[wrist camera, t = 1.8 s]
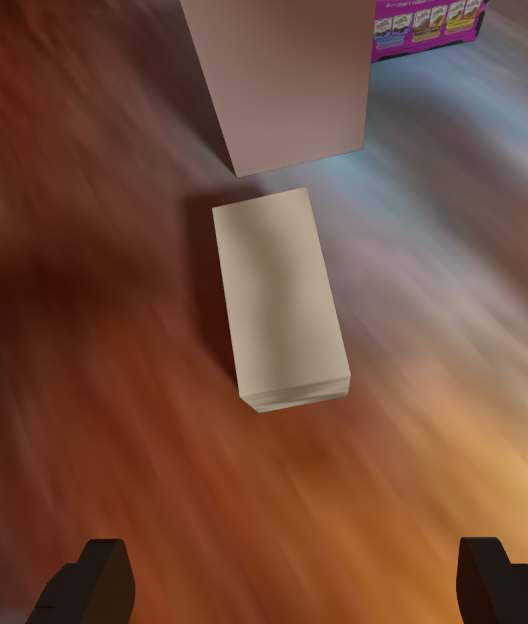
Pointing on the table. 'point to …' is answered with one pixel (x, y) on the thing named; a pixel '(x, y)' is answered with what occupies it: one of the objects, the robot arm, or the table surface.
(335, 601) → the table surface
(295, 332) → the beige rectangular block
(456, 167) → the table surface
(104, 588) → the robot arm
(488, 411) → the table surface
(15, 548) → the table surface
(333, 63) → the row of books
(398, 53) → the candy bar box
